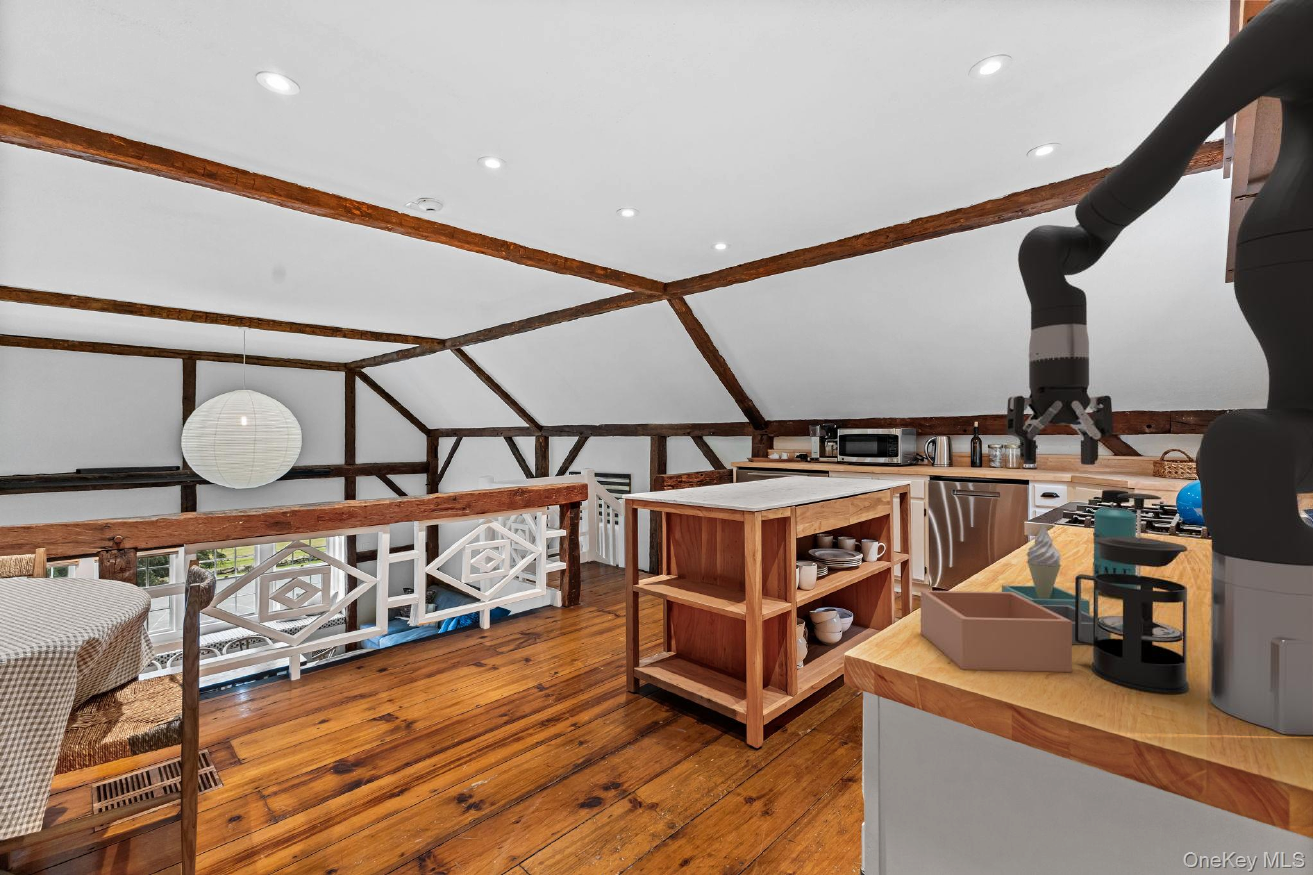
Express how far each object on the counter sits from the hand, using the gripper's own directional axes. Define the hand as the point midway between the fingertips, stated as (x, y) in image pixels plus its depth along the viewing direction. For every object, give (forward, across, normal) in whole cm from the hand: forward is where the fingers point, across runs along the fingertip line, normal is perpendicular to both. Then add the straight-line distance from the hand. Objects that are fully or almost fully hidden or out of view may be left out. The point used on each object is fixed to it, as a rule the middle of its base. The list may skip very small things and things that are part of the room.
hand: (1058, 464), depth 88 cm
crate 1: (+26, +5, +12) cm, 29 cm away
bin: (+26, -14, -8) cm, 31 cm away
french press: (+26, 0, -15) cm, 30 cm away
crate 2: (+26, 0, 0) cm, 26 cm away
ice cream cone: (+26, +5, +12) cm, 29 cm away
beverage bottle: (+26, +23, +22) cm, 41 cm away
